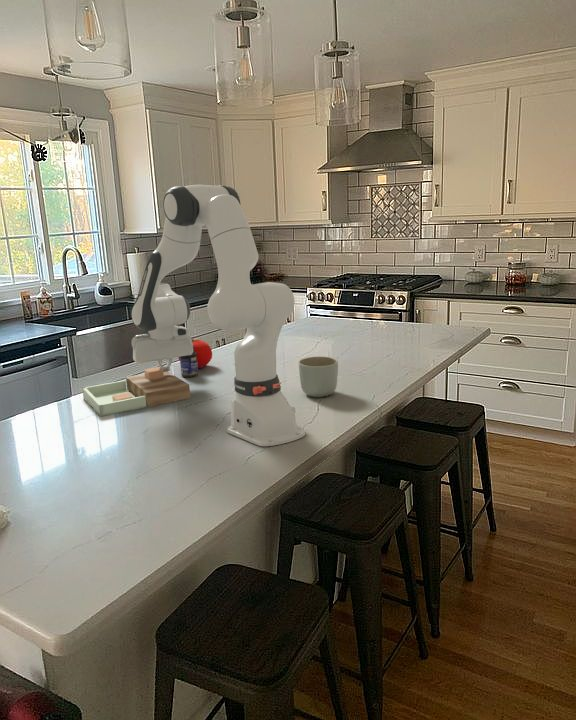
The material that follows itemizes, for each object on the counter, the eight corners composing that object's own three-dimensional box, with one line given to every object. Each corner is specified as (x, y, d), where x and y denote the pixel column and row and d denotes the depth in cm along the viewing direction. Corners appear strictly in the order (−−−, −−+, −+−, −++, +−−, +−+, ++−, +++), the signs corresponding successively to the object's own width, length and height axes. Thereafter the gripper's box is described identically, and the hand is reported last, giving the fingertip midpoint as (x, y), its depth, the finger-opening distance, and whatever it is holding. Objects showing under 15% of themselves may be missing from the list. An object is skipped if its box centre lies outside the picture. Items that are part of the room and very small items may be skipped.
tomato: (193, 361, 234) (191, 334, 231) (218, 365, 227) (216, 337, 224) (172, 369, 225) (169, 341, 222) (197, 373, 218) (195, 344, 215)
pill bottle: (194, 378, 212) (192, 348, 209) (178, 377, 213) (176, 348, 210) (200, 373, 218) (198, 344, 215) (185, 372, 219) (182, 344, 216)
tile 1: (116, 399, 181) (117, 407, 182) (132, 396, 183) (133, 404, 184) (112, 395, 185) (113, 403, 186) (127, 392, 188) (128, 400, 188)
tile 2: (163, 377, 198) (163, 369, 197) (149, 379, 196) (148, 372, 195) (159, 373, 202) (158, 366, 202) (144, 376, 200) (144, 369, 199)
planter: (329, 386, 196) (329, 354, 193) (344, 397, 185) (344, 363, 182) (294, 391, 193) (293, 359, 190) (307, 402, 181) (306, 368, 178)
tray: (146, 407, 183) (145, 396, 182) (100, 416, 176) (99, 405, 175) (125, 390, 201) (124, 380, 200) (83, 398, 194) (82, 387, 193)
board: (190, 398, 190) (189, 384, 189) (148, 406, 183) (146, 392, 182) (166, 382, 208) (165, 369, 207) (127, 389, 201) (125, 377, 200)
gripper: (133, 337, 189) (138, 378, 193) (193, 329, 199) (196, 368, 203) (128, 334, 195) (132, 374, 198) (186, 326, 205) (189, 364, 208)
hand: (165, 371), depth 201 cm, fingers closed
